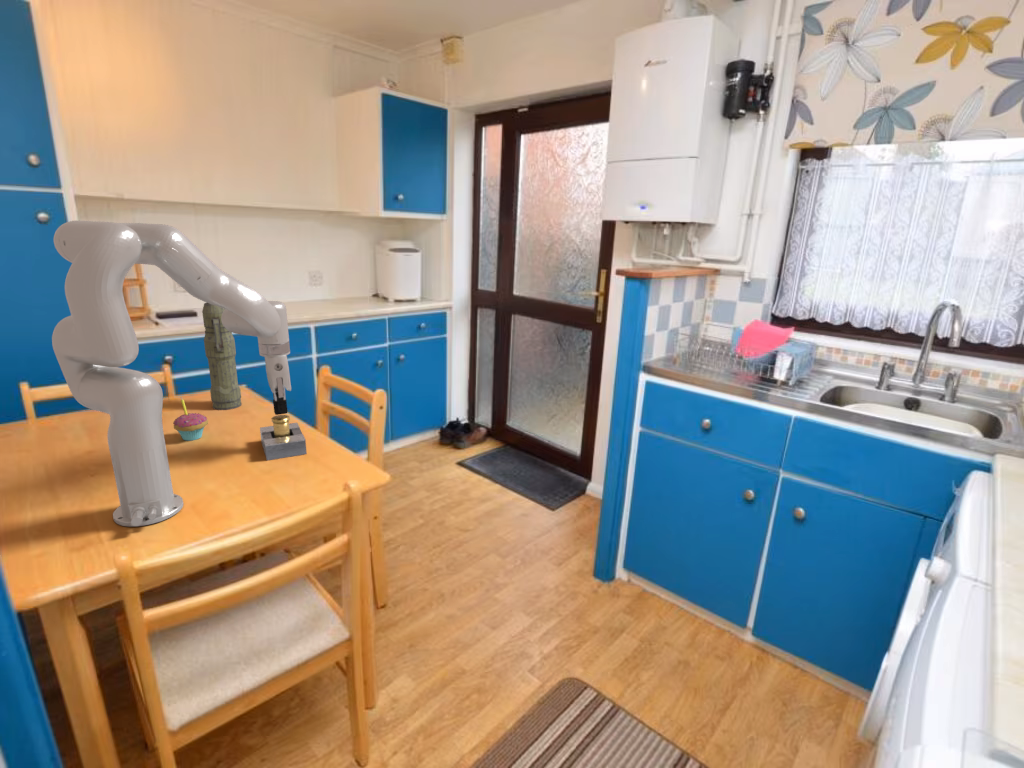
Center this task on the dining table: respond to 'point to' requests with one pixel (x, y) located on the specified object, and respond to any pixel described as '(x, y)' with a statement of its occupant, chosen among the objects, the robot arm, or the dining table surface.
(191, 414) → the cupcake
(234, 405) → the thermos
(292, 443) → the jig
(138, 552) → the dining table surface
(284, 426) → the brass capped cylinder
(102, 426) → the dining table surface
